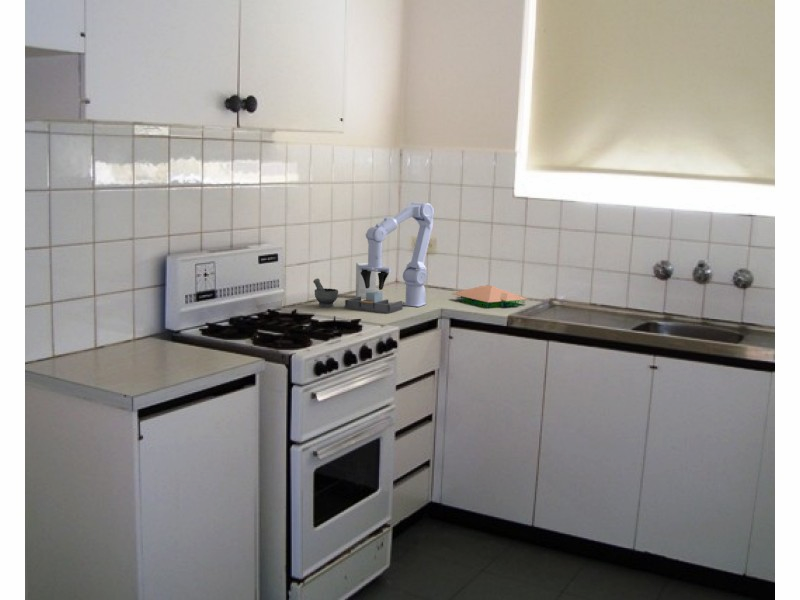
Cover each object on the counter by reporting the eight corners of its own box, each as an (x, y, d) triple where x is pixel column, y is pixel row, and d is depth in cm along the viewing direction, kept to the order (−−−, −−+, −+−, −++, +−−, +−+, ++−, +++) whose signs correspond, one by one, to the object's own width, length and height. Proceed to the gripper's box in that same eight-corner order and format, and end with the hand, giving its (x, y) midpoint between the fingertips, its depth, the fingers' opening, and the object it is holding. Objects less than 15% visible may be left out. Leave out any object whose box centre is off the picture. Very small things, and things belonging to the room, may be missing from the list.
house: (492, 310, 359) (493, 291, 358) (445, 299, 386) (445, 281, 385) (531, 307, 372) (532, 289, 371) (483, 296, 399) (484, 279, 398)
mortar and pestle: (329, 303, 361) (330, 275, 359) (342, 307, 353) (342, 278, 352) (307, 305, 354) (307, 277, 352) (319, 309, 347) (319, 280, 345)
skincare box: (372, 296, 386) (373, 262, 383) (376, 298, 379) (377, 264, 377) (354, 296, 383) (355, 262, 381) (358, 298, 377) (358, 264, 375)
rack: (358, 304, 361) (358, 295, 361) (402, 309, 352) (402, 300, 352) (344, 308, 351) (344, 298, 350) (389, 313, 342) (389, 304, 341)
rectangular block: (373, 304, 355) (373, 290, 354) (381, 305, 354) (382, 291, 353) (365, 307, 349) (366, 292, 348) (374, 308, 347) (374, 293, 347)
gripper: (354, 255, 348) (354, 288, 350) (386, 258, 341) (385, 291, 343) (363, 254, 354) (362, 286, 356) (394, 257, 348) (393, 289, 350)
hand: (374, 288), depth 350 cm, fingers open, 6 cm apart
